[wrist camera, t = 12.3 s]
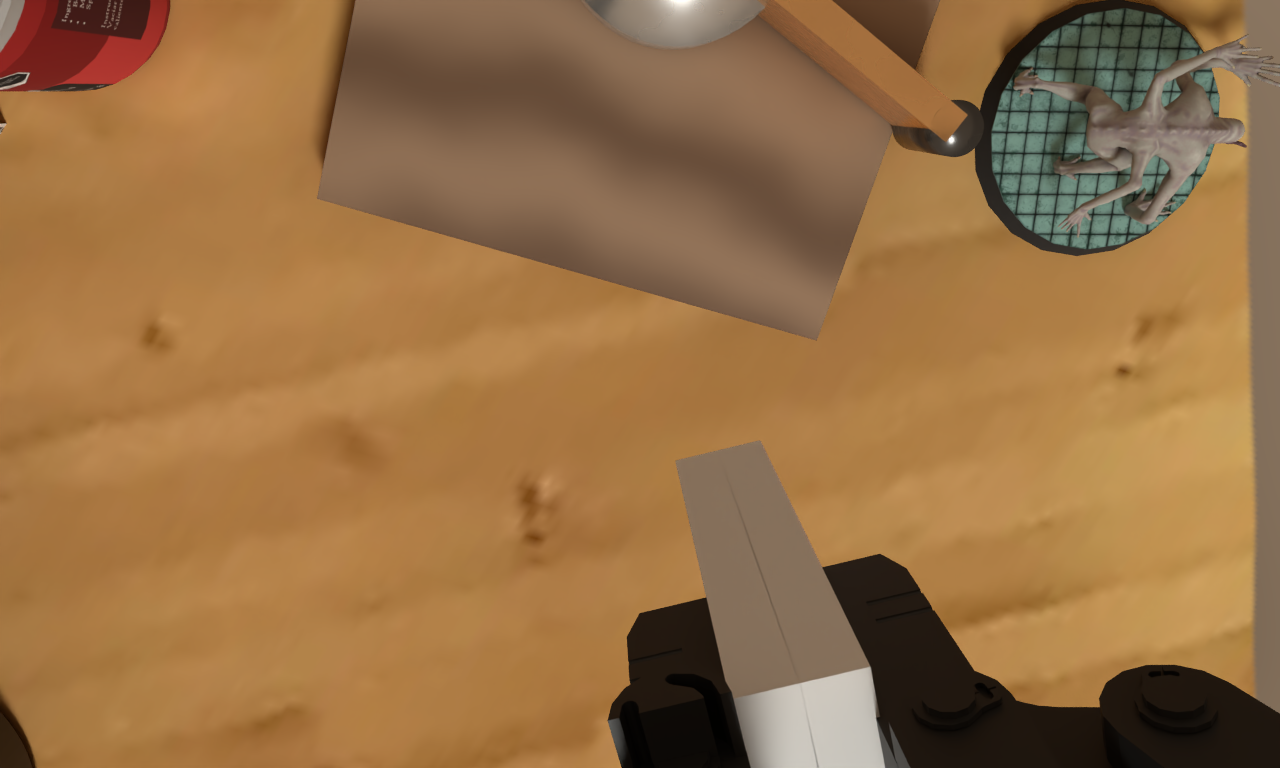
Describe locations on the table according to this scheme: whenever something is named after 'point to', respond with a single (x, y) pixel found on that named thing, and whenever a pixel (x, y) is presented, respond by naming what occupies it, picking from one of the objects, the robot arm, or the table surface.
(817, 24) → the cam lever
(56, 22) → the canned food
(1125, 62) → the figurine
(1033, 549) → the table surface
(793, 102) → the level stand
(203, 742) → the table surface
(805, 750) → the robot arm
